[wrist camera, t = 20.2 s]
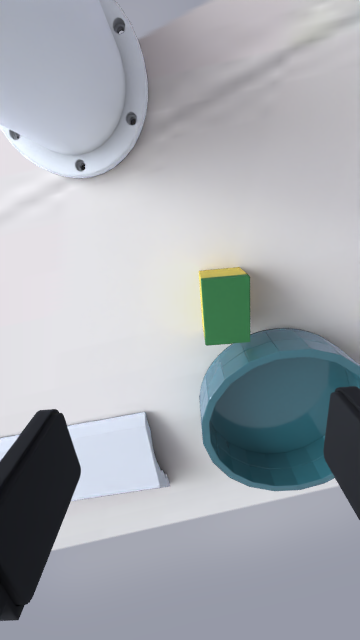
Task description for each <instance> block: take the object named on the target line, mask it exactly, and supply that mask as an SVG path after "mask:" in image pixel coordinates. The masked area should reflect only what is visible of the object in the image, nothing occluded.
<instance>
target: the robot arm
mask: <svg viewBox="0 0 360 640" xmlns="http://www.w3.org/2000/svg"><path fill="white" fill-rule="evenodd" d="M121 30H122V31H124V32H123V33H121V34H119V32H120V31H121ZM147 102H148V80H147V73H146V68H145V62H144V58H143V54H142V51H141V48H140V44H139V41H138V39H137V36H136V34H135V32H134V30H133V27H132V25H131V23H130V21H129V20H128V18H127V17H126V15H125V14H124V12H123V10H122V9H121V8H120V6H119V4H118V3H117V2H116V1H115V0H0V129H1V130H2V132H3V133H4V134H5V136H6V137H7V138H8V140H9V141H10V142H11V144H12V145H13V146H14V147H15V148H16V149H17V150H18V151H19V152H20V153H21V154H22V155H23V156H24V157H26V158H27V159H29V160H30V161H31V162H33V163H34V164H35V165H37V166H39V167H41V168H43V169H45V170H47V171H49V172H51V173H54V174H57V175H60V176H65V177H71V178H89V177H93V176H96V175H100V174H103V173H105V172H107V171H108V170H110V169H112V168H114V167H115V166H116V165H117V164H119V163H120V162H121V161H122V160H123V159H124V158H125V157H126V156H127V155H128V153H129V152H130V151H131V149H132V148H133V147H134V145H135V143H136V141H137V139H138V137H139V135H140V133H141V130H142V127H143V124H144V120H145V117H146V111H147ZM132 119H135V120H136V123H135V124H134V125H131V120H132ZM19 134H20V138H19ZM83 164H85V165H86V168H85V170H82V165H83ZM323 454H324V458H325V461H326V463H327V465H328V467H329V468H330V470H331V472H332V473H333V475H334V477H335V479H336V480H337V482H338V484H339V486H340V487H341V489H342V491H343V492H344V494H345V496H346V498H347V499H348V501H349V503H350V505H351V506H352V508H353V510H354V511H355V513H356V515H357V517H358V518H359V520H360V389H359V388H358V387H356V386H350V387H338V388H336V390H335V392H332V393H331V395H330V402H329V410H328V418H327V425H326V433H325V441H324V449H323ZM80 475H81V467H80V463H79V460H78V457H77V454H76V451H75V448H74V445H73V442H72V439H71V436H70V433H69V430H68V427H67V424H66V421H65V418H64V416H63V414H62V413H59V412H58V410H56V409H52V410H40V411H38V412H37V413H36V414H35V415H34V417H33V418H32V419H31V421H30V422H29V423H28V425H27V426H26V427H25V429H24V430H23V431H22V433H21V434H20V435H19V437H18V438H17V439H16V441H15V442H14V443H13V445H12V446H11V447H10V449H9V450H8V451H7V453H6V454H5V455H4V457H3V458H2V459H1V461H0V621H3V620H4V621H6V620H19V617H20V615H21V612H22V610H23V607H24V605H25V604H28V603H29V602H30V600H31V599H32V597H33V595H34V592H35V590H36V587H37V585H38V582H39V580H40V577H41V575H42V572H43V570H44V567H45V565H46V562H47V559H48V557H49V554H50V552H51V549H52V547H53V544H54V542H55V539H56V537H57V534H58V532H59V529H60V527H61V524H62V522H63V519H64V517H65V514H66V512H67V509H68V507H69V504H70V502H71V499H72V496H73V494H74V491H75V489H76V486H77V484H78V481H79V479H80Z"/></svg>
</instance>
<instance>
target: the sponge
mask: <svg viewBox="0 0 360 640" xmlns="http://www.w3.org/2000/svg"><path fill="white" fill-rule="evenodd" d="M199 281H200V295H201V308H202V322H203V331H204V337H205V344H206V345H219V344H232V343H245V342H250V276H249V275H248V274H247V273H245V272H244V271H243V270H242V269H241V268H240V267H237V268H226V269H215V270H205V271H199Z"/></svg>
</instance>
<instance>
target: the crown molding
mask: <svg viewBox="0 0 360 640" xmlns="http://www.w3.org/2000/svg"><path fill="white" fill-rule="evenodd" d="M67 427H68V430H69V433H70V436H71V439H72V442H73V445H74V448H75V451H76V454H77V457H78V460H79V463H80V467H81V475H80V479H79V481H78V484H77V486H76V489H75V491H74V494H73V496H72V499H71V501H75V500H82V499H89V498H95V497H102V496H109V495H115V494H122V493H128V492H135V491H142V490H148V489H155V488H162V487H168V486H170V482H169V480H168V477H167V474H164V473H163V470H160V467H159V465H158V463H157V461H156V458H155V455H154V451H153V445H152V438H151V431H150V427H149V424H148V421H147V417H146V413H145V412H142V413H137V414H131V415H126V416H120V417H115V418H109V419H104V420H98V421H93V422H87V423H82V424H76V425H71V426H67ZM18 437H19V435H16V436H10V437H5V438H0V461H1V459H2V458H3V457H4V455H5V454H6V453H7V451H8V450H9V449H10V447H11V446H12V445H13V443H14V442H15V441H16V439H17V438H18Z"/></svg>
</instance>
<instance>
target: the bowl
mask: <svg viewBox="0 0 360 640" xmlns="http://www.w3.org/2000/svg"><path fill="white" fill-rule="evenodd" d="M350 386H356V387H358V388H359V389H360V365H359V364H358V363H357V362H355V361H354V360H353V359H352V358H351V357H349V356H348V355H347V354H346V353H344V352H343V351H342V350H341V349H340V348H338V347H337V346H335V345H334V344H332V343H331V342H329V341H328V340H326V339H324V338H323V337H321V336H319V335H316V334H314V333H311V332H308V331H303V330H299V329H289V328H283V329H271V330H265V331H261V332H257V333H254V334H251V335H250V342H245V343H233V344H232V345H230V346H229V347H228V348H226V349H225V350H224V351H223V352H222V353H221V354H220V355H219V356H218V357H217V358H216V359H215V360H214V361H213V363H212V364H211V366H210V367H209V369H208V370H207V372H206V374H205V376H204V379H203V382H202V385H201V391H200V396H199V397H200V411H201V424H202V435H203V444H204V446H205V448H206V450H207V452H208V454H209V456H210V458H211V460H212V462H213V463H214V464H215V465H216V466H217V467H218V468H220V469H221V470H222V471H223V472H224V473H225V474H226V475H227V476H228V477H230V478H232V479H234V480H236V481H238V482H240V483H242V484H245V485H247V486H249V487H254V488H260V489H265V490H271V491H288V490H301V489H305V488H309V487H313V486H316V485H320V484H324V483H326V482H328V481H330V480H332V479H334V478H335V477H334V475H333V473H332V472H331V470H330V468H329V467H328V465H327V463H326V461H325V458H324V454H323V449H324V441H325V433H326V425H327V418H328V410H329V402H330V395H331V393H332V392H335V390H336V388H338V387H350Z"/></svg>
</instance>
